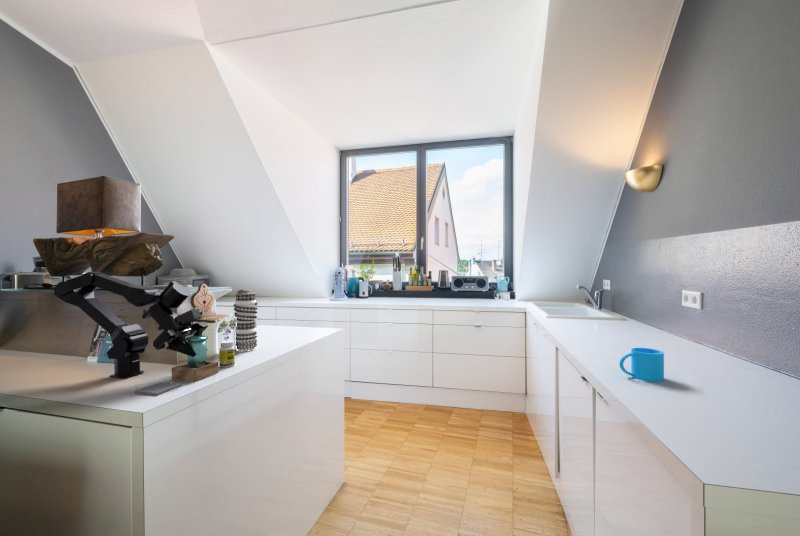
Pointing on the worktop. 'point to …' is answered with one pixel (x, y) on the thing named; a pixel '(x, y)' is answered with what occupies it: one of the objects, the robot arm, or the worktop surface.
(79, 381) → the worktop surface
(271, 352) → the worktop surface
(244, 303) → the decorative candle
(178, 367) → the wooden tray
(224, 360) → the supplement bottle
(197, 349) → the teal glass jar
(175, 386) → the mat
